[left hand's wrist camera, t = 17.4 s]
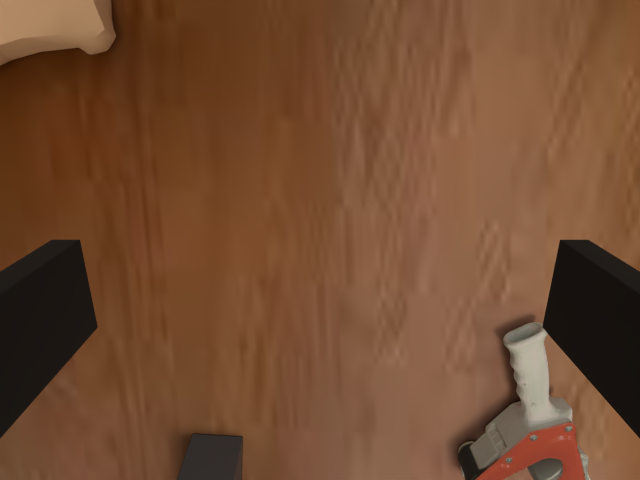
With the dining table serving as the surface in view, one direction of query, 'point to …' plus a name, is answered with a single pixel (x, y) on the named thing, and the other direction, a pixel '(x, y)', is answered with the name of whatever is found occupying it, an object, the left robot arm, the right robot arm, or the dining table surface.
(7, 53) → the squash
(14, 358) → the left robot arm
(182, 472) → the bar
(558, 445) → the tape dispenser
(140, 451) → the dining table surface
